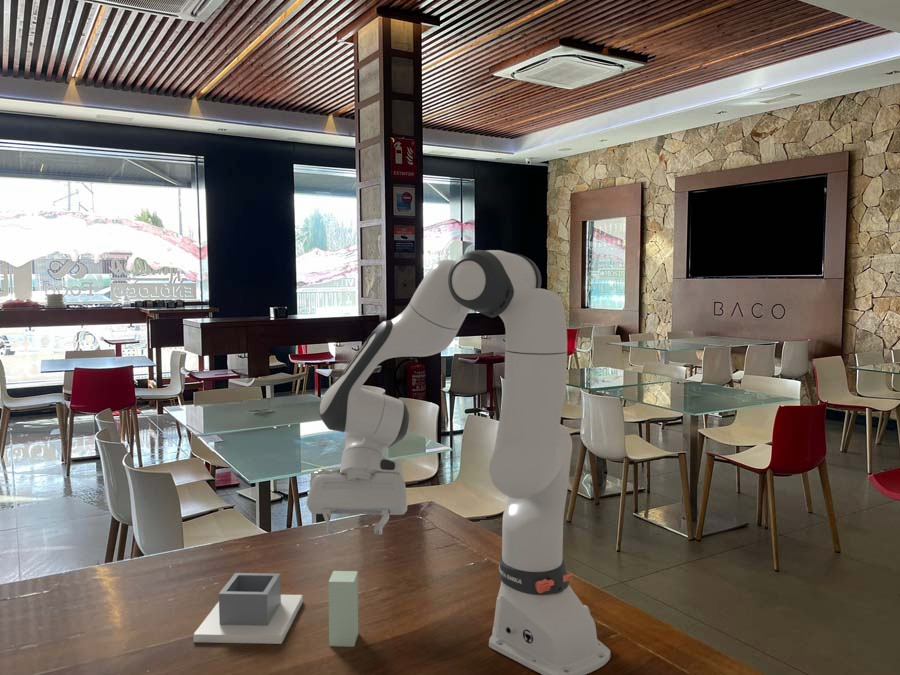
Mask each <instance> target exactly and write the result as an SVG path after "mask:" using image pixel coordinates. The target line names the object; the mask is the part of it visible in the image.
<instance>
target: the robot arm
mask: <svg viewBox="0 0 900 675" xmlns="http://www.w3.org/2000/svg"><path fill="white" fill-rule="evenodd" d="M541 286H542V275H541V272H540V269H539V267H538V265H536V263H535V262H534V261H532V259H530V258H528V257H527V256H525V255H523V254H520V253H513V252H512V253H511V252H507V251H504V250H501V249H500V250H499V249H496V250H495V249H493V250H492V249H489V250H484V249H475V250H472V251H468V252H466V253H464V254H462V255H461V256H459V257H458V258H456V260H455V259H454V260H453V259H443V260H439V261H437V262H436V263H435V264H434V265H432V267H431V268H430V269H429V271H428V272H427V273H426V275H425V276H424V277H423V278H422V280H421V282H420V283H419V285H418V287H417V288H416V289H415V292H414V293H413V296H412V297H411V299H410V301H409V303H408V304H407V306H406V307H405V309H403V311H402V312H400V313H399V314H398V315H397V316H395V317H393V318H391V319H389V320H383V321H382V322H381V323H379V324H378V325H377V327H376V328H375V329H373V331H372V332H371V334H370V335H369V336H368V337H367V339H366V340H365V341H364V342H363V344H362V345H361V346H360V348H359V349H358V350H357V352H356V353H355V355H354V356H353V358H352V359H351V360H350V361H349V363H348V365H347V366H346V367H345V368H344V370H343V371H342V372H341V374H340V375H339V376H338V377H337V379H335V380H334V381H333V383H332V384H331V385H330V386H329V387H328V388H327V390H326V391H325V392H324V394H323V396H322V399H321V401H320V403H319V404H320V405H319V408H318V409H319V410H318V414H319V417H320V419H321V421H322V422H323V423H324V425H325V426H326V428H327V429H328V430H329V431H335V432H341V433H345V434H344V445H345V446H344V449H343V452H342V453H341V459H340V460H341V462H340V467H339V469H330V470H329V469H328V470H327V469H319V470H318V471H315V472H314V473H312V474H311V476H310V479H309V480H310V481H309V487H310V488H309V491H308V494H307V498H306V507H307V508H308V511H309V512H310V513H311V514H313V515H323V518H324V521H325V523H326V527H325V533H326V534H327V535H335V533H336V531H335V530H336V525H335V522H333V521H332V522H331V521H330V519H331V518H332V515H374V516H375V515H381V519H380V520H379V522H374V526H373V527H374V528H373V533H374V535H383V530H384V529H383V527H385V525H386V524H387V523H388V521H389V519H390V515H392V516H402V515H403V516H404V515H405V514H406V512H407V511H408V494H407V487H406V482H405V479H404V471H403V468H402V467H403V466H402V465H401V462H398V461H396V460H392V459H389V458H386V457H384V451H385V449H389V448H390V447H392V446H394V445H396V444H397V443H399V442H400V441H402V440H403V439H404V437H405V436H406V435H407V432H408V428H409V424H410V422H409V421H410V413H409V410H408V407H407V405H406V403H405V402H404V401H403V400H401V399H399V398H396V397H393V396H390V395H387V394H384V393H379V392H376V391H373V390H370V389H367V388H364V387H363V386H364V383H365V382H366V381H367V380H368V378H369V377H370V376H371V375H372V373H373V372H374V371H375V369H376V368H377V366H378V365H380V364H381V363H383V362H384V361H386V360H389V359H393V358H402V357H415V358H416V357H418V358H422V357H423V358H424V357H429V356H433V355H434V356H435V355H436V354H439V353H441V352H443V351H445V350H446V349H447V348H448V347H450V345H451V344H452V343H453V341H454V340H455V338H456V336H457V335H458V333H459V330H460V329H461V326H462V325H463V323H464V321H465V319H466V317H467V315H468V314H469V312H470V311H474V312H477V313H479V314H482V315H485V316H487V317H489V318H496V317H500V319H501V320H502V322H503V323H504V324H503V325H504V328H505V343H504V344H505V345H504V347H505V348H504V380H503V381H504V382H503V384H504V386H503V387H504V388H503V396H502V405H501V409H500V414H499V418H498V425H497V431H496V439H495V444H494V449H493V452H492V456H491V458H490V461H489V469H488V471H489V475H490V476H489V478H490V479H491V481H492V484H493V486H495V488H496V489H497V490H498V491H499V492H500V493H501V494H502V495H505V496H506V497H507V499H506V502H505V503H506V504H505V508H504V511H503V514H502V530H501V534H502V536H501V538H502V542H501V545H502V548H501V554H502V555H500V559H499V564H498V571H499V573H498V574H499V576H498V577H499V579H500V586H499V591H498V593H497V597H496V602H495V611H494V619H493V620H494V621H493V626H492V629H491V630H492V631H491V632H492V634H491V636H490V637H489V641H488V647H489V648H490V649H492V650H494V651H496V652H498V653H500V654H501V655H504V656H506V657H507V658H509V659H512V660H513V661H515V662H517V663H519V664H521V665H523V666H525V667H526V668H529V669H530V670H533V671H534V672H537V673H539V674H541V675H587V674H590V673H592V672H594V671H596V670H599V669H600V668H602V667H603V666H605V665H606V664H607V663H608V661H610V659H611V657H612V656H611V653H612V652H611V650H610V649H609V647H607V646H606V645H605V644H604V643H603V642H601V641H600V640H599V639H598V636H597V628H596V623H595V620H594V618H593V616H592V615H591V611H590V608H589V606H587V605H585V604H583V603H582V601H581V600H580V598H579V597H578V596H577V594H576V593H575V591H573V589H572V587H571V586H570V581H571V580H573V579H574V578H573V577H572V576H573V575H574V573H573V572H570V573H568V571H567V566H566V563H565V560H564V558H563V553H564V552H563V551H564V550H563V548H564V547H563V544H564V542H563V541H564V540H563V539H564V515H565V509H566V502H567V495H568V488H569V482H570V481H569V480H570V470H571V462H572V461H571V459H572V453H573V440H572V436H571V434H570V432H569V431H568V429H567V428H566V427H565V426H563V425H562V424H561V420H562V413H563V407H564V404H565V400H566V396H567V375H568V374H567V370H568V369H567V366H568V329H567V321H566V314H565V313H566V312H565V307H564V303H563V300H562V299H561V297H560V296H559V295H558V294H556V293H555V292H553V291H552V290H550V289H545V288H541Z"/></svg>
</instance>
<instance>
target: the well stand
mask: <svg viewBox="0 0 900 675" xmlns="http://www.w3.org/2000/svg"><path fill="white" fill-rule="evenodd" d="M281 586H282V585H281V573H276V572H275V573H274V572H273V573H271V572H270V573H266V572H264V573H263V572H262V573H259V572H235V573H233V575H232V576H231V577H230V579H229V580H228V581H227V583H225V585H224V586H223V588H221V590H220V591H219V593H218V602H216V604H215V606H214V607H213V608H212V609H211V611H210V612H209V613H208V615H207V616H206V617H205V619H203V621H202V623H201V624H200V625H199V626H198V628H197V629H196V630H195V631H194V633H193V637H192V638H193V643H213V644H214V643H215V644H216V643H217V644H219V643H222V644H226V643H227V644H267V645H268V644H275V645H276V644H279V645H281V644H282V643H283V641H284V639H285V638H286V636H287V633H288V632H289V630H290V628H291V626H292V624H293V622H294V620H295V618H296V616H297V614H298V612H299V611H300V609H301V606H302V605H303V602H304V601H303V600H304V598H303V597H304V596H303V594H281V593H282V592H281V590H282V588H281Z"/></svg>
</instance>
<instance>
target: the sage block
mask: <svg viewBox="0 0 900 675" xmlns="http://www.w3.org/2000/svg"><path fill="white" fill-rule="evenodd" d="M358 636H359V571H357V570H333V571H332V573H331V575H330V577H329V580H328V647H347V648H348V647H355V645H356V642H357V639H358Z"/></svg>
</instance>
